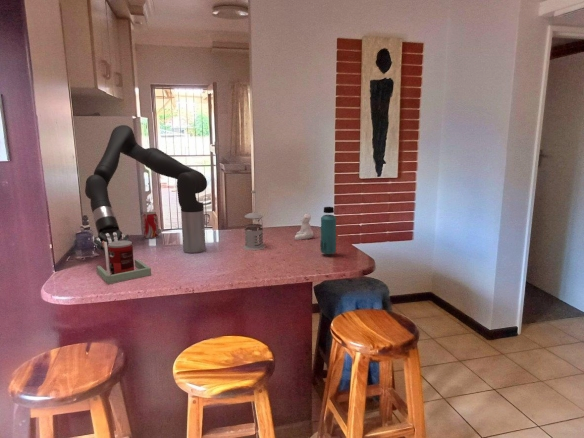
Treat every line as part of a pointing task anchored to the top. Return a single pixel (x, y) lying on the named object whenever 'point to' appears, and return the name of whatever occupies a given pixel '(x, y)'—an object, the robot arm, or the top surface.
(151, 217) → the soda can
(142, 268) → the holder tray
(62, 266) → the top surface
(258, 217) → the french press
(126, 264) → the canned food
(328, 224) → the beverage bottle
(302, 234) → the white figurine
